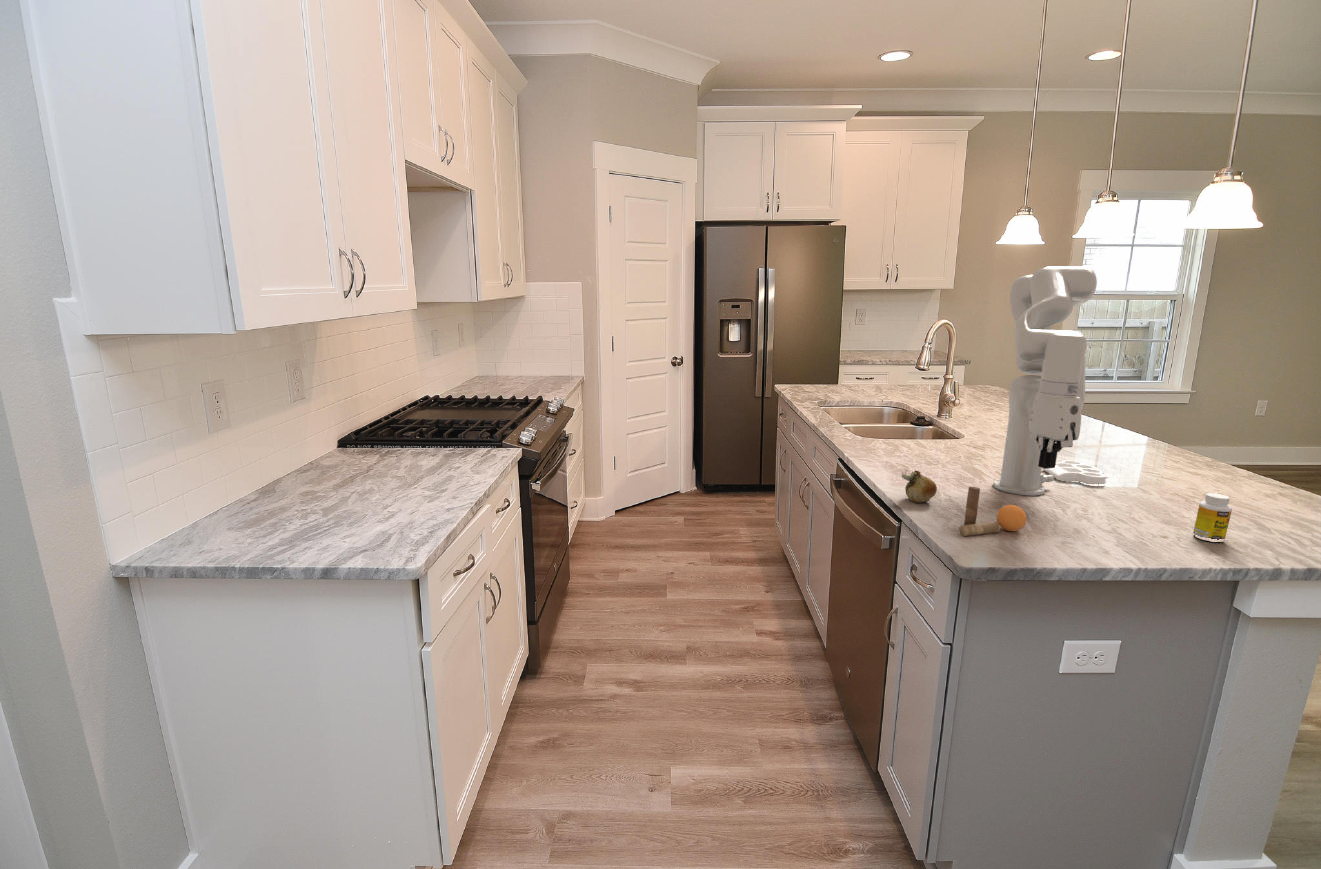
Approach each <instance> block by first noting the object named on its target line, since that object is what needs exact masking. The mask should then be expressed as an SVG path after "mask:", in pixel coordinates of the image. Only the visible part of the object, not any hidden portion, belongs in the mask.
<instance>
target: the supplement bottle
mask: <svg viewBox="0 0 1321 869" xmlns="http://www.w3.org/2000/svg"><path fill="white" fill-rule="evenodd" d="M1229 503H1230V497H1229V496H1228V495H1225V494H1220V493H1216V492H1215V493H1214V492H1213V493H1212V492H1209V493H1206V494H1205V497H1204V500H1202V501H1201V502H1199V505H1198V510H1197V513H1196V517H1195V518H1196V519H1195V522H1194V523H1195V524H1194V528H1193V532H1192V534H1193V533H1194V534H1195V535H1198V536H1200V537H1205V538H1211V539H1217V540H1219V539H1225V540H1226V537H1227V532H1228V527H1229V524H1230V519H1231V515H1232V512H1233V511H1232V509H1233V508H1232V506H1230V504H1229Z"/></svg>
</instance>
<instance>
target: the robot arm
mask: <svg viewBox="0 0 1321 869" xmlns="http://www.w3.org/2000/svg"><path fill="white" fill-rule="evenodd" d="M1097 284H1098V280H1097V276H1096V273H1095V271H1094V270H1093V269H1092V268H1091V267H1088V266H1071V265H1070V266H1062V265H1061V266H1060V265H1059V266H1046V267H1042V268H1039V269H1037V270H1036V271H1035V272H1034V273H1033V274H1028V275H1024V276H1020V277H1018V278H1016V279H1014V280H1013V282H1012V284H1011V286H1010V290H1009V291H1010V292H1009V305H1010V311H1011V315H1012V317H1013V319H1014V324H1015V328H1014V334H1013V335H1014V348H1015V349H1014V350H1015V361H1016V362H1015V364H1016V367H1017V369H1018V371H1019V372H1021V373H1024V374H1025V375H1019V376H1017V377H1015V378H1014V379H1012V381H1011V382H1010V384H1009V386H1008V387H1009V388H1008V419H1007V420H1008V421H1007V428H1006V429H1007V430H1006V437H1005V443H1004V450H1003V458H1002V459H1003V460H1002V465H1001V473H1000V478H998V479H995V480H994V481H993V486H994V488H996V489H997V490H999V491H1002V492H1005V493H1008V494H1013V495H1020V496H1040V495H1041V496H1042V495H1044V494H1045V492H1046V487H1045V486H1043V484H1044V483H1053V481H1054V479H1055V477H1053V476H1052V475H1050V474H1047V475H1044V474H1043V473H1042V470H1043V469H1042V468H1044V469H1048V468H1055V465H1056V462H1057V458H1058V453H1059V452H1061V450H1062V449H1063V448H1073V446H1074V443H1073V441H1078V439H1079V437H1080V433H1081V425H1082V424H1081V423H1082V408H1084V407H1083V406H1084V403H1085V399H1086V352H1087V347H1088V340H1087V338H1086V336H1085V335H1084V334H1083V333H1082V332H1080V331H1077V330H1067V329H1066V330H1061V329H1053V326H1054V325H1058V324H1061V323H1062V322H1064V321H1066V320H1067V319H1068V318H1069V317H1070V316H1071V314H1072V311H1073V309H1074V308H1075V307H1079V306H1081V305H1082V304H1084V303H1085V304H1086V303H1087V302H1088V301H1090V300H1091V299H1092V298H1093V296H1094V295H1095V292H1096V291H1097V290H1096V289H1097V286H1098V285H1097Z"/></svg>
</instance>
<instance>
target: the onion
mask: <svg viewBox="0 0 1321 869" xmlns="http://www.w3.org/2000/svg"><path fill="white" fill-rule="evenodd" d="M921 473H922V472H921V471H919V470H915V469H914V471H911V474H910V475H907V474H906V473H901V478H902V479H904V480H906V481H907V484H906V486H905V488H904V490H905V494H906V496H907V498H908V500H910V501H912V502H914V503H917V504H920V503H921V504H922V503H928V502H929V501H930V500H933V497H934V496H935V495H936V494H937V490H938V487H937V485H936V483H935V481H933V480H932V479H931V478H929V477H927V476H924V475H923V474H921Z"/></svg>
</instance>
